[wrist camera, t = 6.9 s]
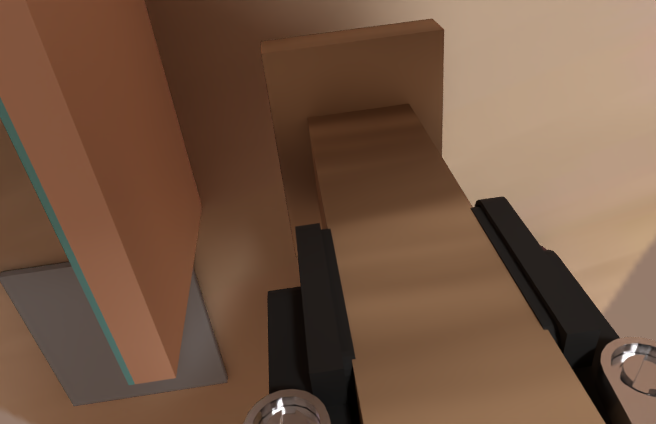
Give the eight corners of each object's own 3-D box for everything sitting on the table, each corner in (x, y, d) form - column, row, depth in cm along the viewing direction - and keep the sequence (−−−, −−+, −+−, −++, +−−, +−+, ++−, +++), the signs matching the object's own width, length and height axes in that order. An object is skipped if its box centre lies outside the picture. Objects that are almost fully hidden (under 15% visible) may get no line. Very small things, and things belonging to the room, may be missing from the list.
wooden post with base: (261, 41, 15) (264, 387, 5) (432, 18, 16) (752, 312, 5) (293, 236, 19) (332, 653, 9) (431, 216, 20) (617, 604, 9)
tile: (79, -74, 19) (-63, -13, 10) (122, -79, 19) (16, -23, 10) (170, 211, 25) (129, 385, 17) (202, 206, 25) (175, 378, 17)
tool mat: (1, 271, 26) (-3, 277, 26) (186, 245, 26) (185, 250, 26) (75, 400, 32) (74, 406, 31) (227, 377, 32) (227, 382, 32)
